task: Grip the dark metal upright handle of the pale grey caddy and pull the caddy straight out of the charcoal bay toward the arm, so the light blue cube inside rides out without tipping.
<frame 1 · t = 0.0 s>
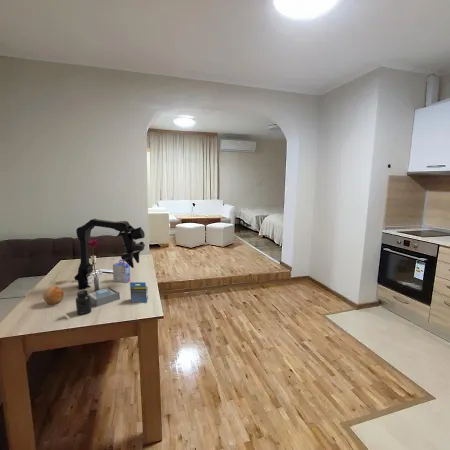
hand: (135, 265, 174), 15 cm above the table, tool pointing down, fingers open, 9 cm apart
supplement bottle: (84, 314, 145), on the table
bay: (102, 300, 159), on the table
onion: (54, 303, 156), on the table
label tape cartridge: (139, 302, 159), on the table
ink cartridge box: (122, 281, 189), on the table
light blue cube: (102, 299, 159), point 1 cm above the table, touching caddy
caddy: (101, 289, 159), point 6 cm above the table, slide at 0.0 cm, touching light blue cube
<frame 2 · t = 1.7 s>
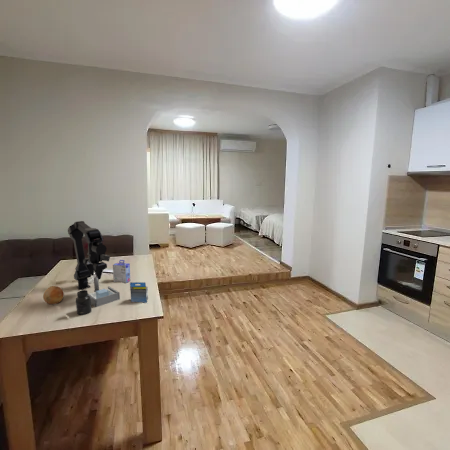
hand: (95, 277, 162), 12 cm above the table, tool pointing down, fingers open, 9 cm apart
nothing on the table moved.
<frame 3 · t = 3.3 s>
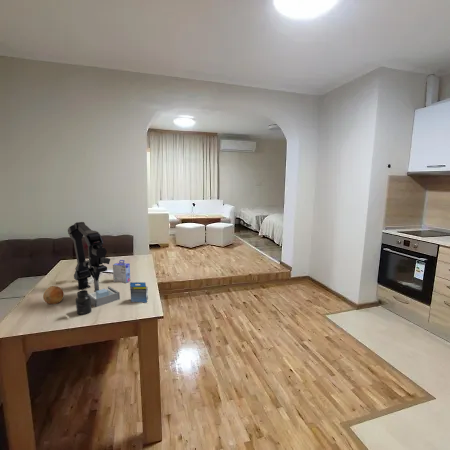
hand: (96, 280, 162), 11 cm above the table, tool pointing down, fingers closed on caddy, 2 cm apart
caddy: (100, 289, 159), point 6 cm above the table, slide at 0.0 cm, touching gripper, light blue cube
everything else where it was.
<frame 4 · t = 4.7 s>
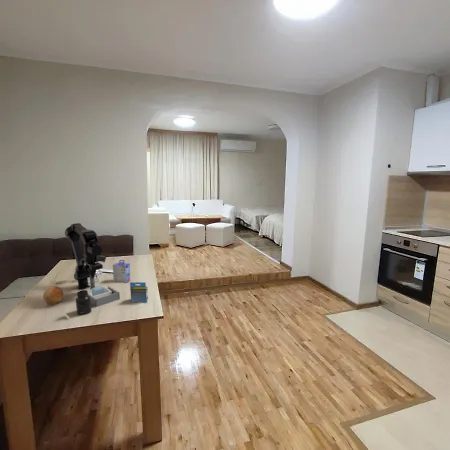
hand: (92, 277, 166), 10 cm above the table, tool pointing down, fingers closed on caddy, 2 cm apart
light blue cube: (98, 296, 163), point 1 cm above the table, touching caddy
caddy: (96, 287, 163), point 6 cm above the table, slide at 5.7 cm, touching gripper, light blue cube
everything else where it was.
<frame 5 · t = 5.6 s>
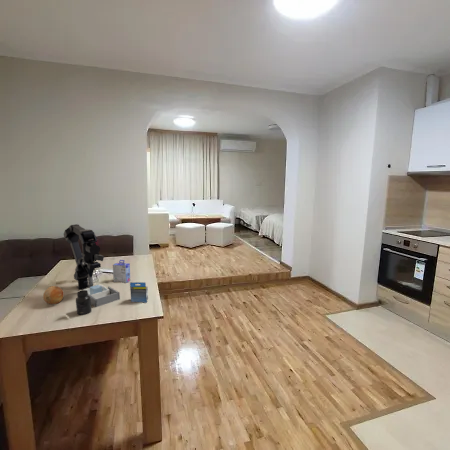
hand: (90, 276, 168), 10 cm above the table, tool pointing down, fingers closed on caddy, 2 cm apart
light blue cube: (96, 295, 165), point 1 cm above the table, touching caddy
caddy: (94, 285, 165), point 6 cm above the table, slide at 8.4 cm, touching gripper, light blue cube
everything else where it was.
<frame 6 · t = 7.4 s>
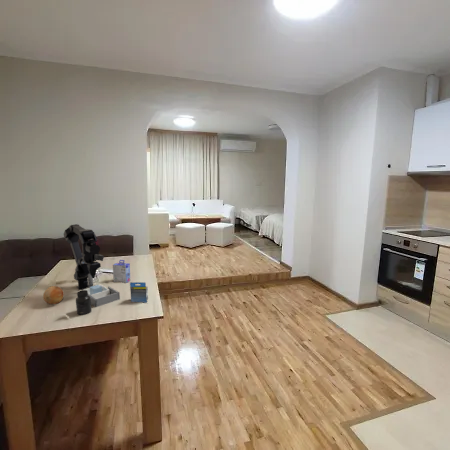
hand: (90, 276, 168), 11 cm above the table, tool pointing down, fingers open, 9 cm apart
caddy: (94, 285, 165), point 6 cm above the table, slide at 8.5 cm, touching light blue cube
everything else where it was.
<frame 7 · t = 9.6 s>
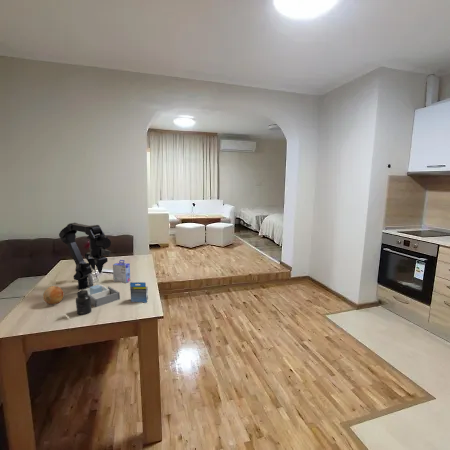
hand: (96, 271, 170), 13 cm above the table, tool pointing down, fingers open, 9 cm apart
nothing on the table moved.
at the end: caddy slide at 8.5 cm; light blue cube inside the target area (0.2 cm from its centre), point 0.9 cm above the table; light blue cube tilted 0° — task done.
